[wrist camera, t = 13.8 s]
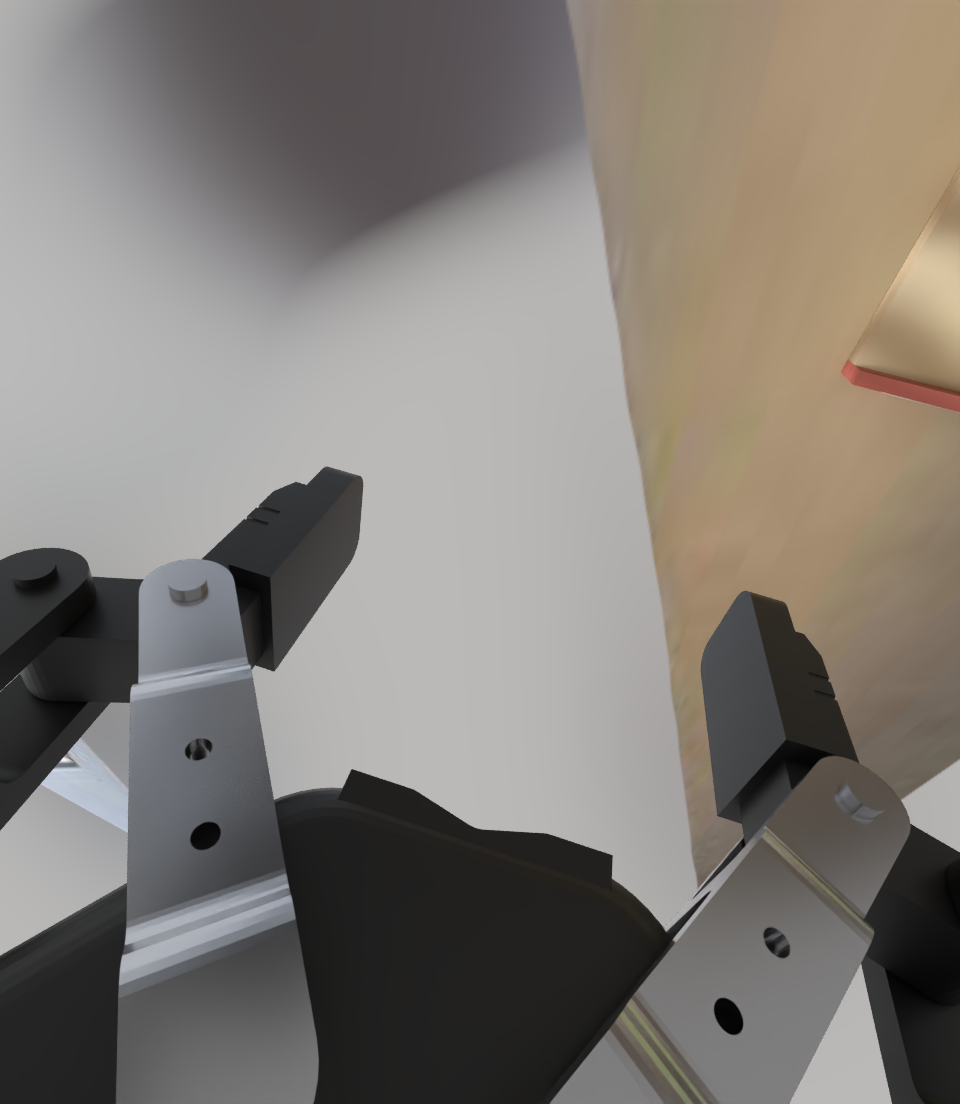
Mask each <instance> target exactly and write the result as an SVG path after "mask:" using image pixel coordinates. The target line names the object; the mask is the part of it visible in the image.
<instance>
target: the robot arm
mask: <svg viewBox="0 0 960 1104" xmlns="http://www.w3.org/2000/svg"><path fill="white" fill-rule="evenodd" d="M362 493H363V480H362V477H361V476H358V475H354V474H351V473H347V472H344V471H341V470H337V469H334V468H330V467H325V468H323V469H322V470H321V471H320V472H319V473H318V474H317V475H316V476H315V477H314V478H313V479H312V480H311V481H310V482H309V483H308V484H307V485H305V484H301V483H297V482H295V483H292V484H290V485H287V486H285V487H283V488H280V489H278V490H276V491H274V492H272V493H271V494H270V495H269V496H268V497H267V498H266V499H265V500H264V501H263V502H262V503H261V504H260V505H259V508H255V509H254V510H253V511H252V512H251V513H250V514H249V515H248V516H247V519H246V520H245V519H244V520H243V521H242V522H241V523H240V524H238V526H236V527H235V528H234V529H233V530H232V531H231V532H230V533H229V534H228V535H227V536H226V537H225V538H224V539H223V540H222V541H221V542H219V543H218V544H217V545H216V546H215V547H214V548H213V549H212V550H211V551H210V552H209V553H208V554H207V555H206V556H204V557H203V558H202V559H186V560H179V561H175V562H171V563H168V564H166V565H163V566H161V567H159V568H157V569H155V570H154V571H153V572H151V573H150V574H149V575H148V576H147V577H146V578H145V579H140V580H139V579H122V578H105V577H92V576H91V572H90V569H89V566H88V563H87V561H86V560H85V559H84V558H83V557H82V556H81V555H79V554H78V553H76V552H73V551H70V550H66V549H60V548H40V549H33V550H27V551H23V552H20V553H16V554H14V555H11V556H8V557H6V558H4V559H2V560H0V691H1V690H2V689H3V688H4V687H5V686H6V685H7V684H8V683H9V682H10V681H12V680H13V679H14V678H15V677H16V676H17V675H18V674H19V673H20V674H19V675H18V676H17V677H16V678H15V679H14V680H13V681H12V682H11V683H9V684H8V685H7V686H6V687H5V688H4V689H3V690H2V691H1V692H0V830H1V829H2V828H3V827H4V826H5V824H6V823H7V822H8V821H9V820H10V819H11V817H12V816H13V815H14V814H15V813H16V812H17V810H18V809H19V808H20V807H21V806H22V805H23V803H24V802H25V801H26V800H27V799H28V798H29V796H30V795H31V794H32V793H33V792H34V791H35V790H36V788H37V787H38V786H39V785H40V784H41V783H42V781H43V780H44V779H45V778H46V777H47V776H48V774H49V773H50V772H51V771H52V770H53V769H54V767H55V766H56V765H57V764H58V763H59V762H60V761H61V759H62V758H63V757H64V756H65V755H66V754H67V752H68V751H69V750H70V749H71V748H72V747H73V745H74V744H75V743H76V742H77V741H78V740H79V738H80V737H81V736H82V735H83V734H84V733H85V731H86V730H87V729H88V728H89V727H90V726H91V724H92V723H93V722H94V721H95V720H96V718H97V717H98V716H99V715H100V714H101V713H102V712H103V710H104V709H105V708H106V707H107V706H108V705H109V704H110V702H121V703H130V736H129V737H130V741H129V799H128V861H127V883H126V884H124V885H123V886H121V887H119V888H117V889H116V890H114V891H112V892H110V893H109V894H107V895H105V896H103V897H102V898H100V899H98V900H96V901H95V902H93V903H91V904H89V905H88V906H86V907H84V908H82V909H81V910H79V911H77V912H76V913H74V914H72V915H70V916H69V917H67V918H65V919H63V920H62V921H60V922H58V923H56V924H55V925H53V926H51V927H49V928H48V929H46V930H44V931H42V932H41V933H39V934H37V935H35V936H34V937H32V938H30V939H28V940H27V941H25V942H23V943H22V944H20V945H18V946H16V947H15V948H13V949H11V950H9V951H8V952H6V953H4V954H3V955H1V956H0V1104H789V1103H790V1101H791V1099H792V1097H793V1095H794V1093H795V1091H796V1089H797V1087H798V1085H799V1083H800V1081H801V1080H802V1078H803V1075H804V1073H805V1072H806V1070H807V1068H808V1066H809V1064H810V1062H811V1060H812V1058H813V1056H814V1054H815V1052H816V1050H817V1048H818V1046H819V1044H820V1042H821V1040H822V1038H823V1036H824V1034H825V1032H826V1030H827V1028H828V1027H829V1025H830V1022H831V1021H832V1019H833V1017H834V1015H835V1013H836V1011H837V1009H838V1007H839V1005H840V1003H841V1001H842V999H843V997H844V995H845V993H846V991H847V989H848V987H849V985H850V984H851V981H852V980H853V978H854V976H855V974H856V972H857V970H858V968H859V966H860V964H862V969H863V973H864V978H865V982H866V987H867V992H868V996H869V1001H870V1005H871V1010H872V1014H873V1019H874V1023H875V1028H876V1033H877V1037H878V1041H879V1046H880V1051H881V1055H882V1059H883V1064H884V1069H885V1073H886V1078H887V1082H888V1087H889V1091H890V1095H891V1101H892V1104H960V852H958V851H956V850H954V849H953V848H951V847H949V846H947V845H946V844H944V843H942V842H941V841H939V840H937V839H935V838H934V837H932V836H930V835H928V834H927V833H925V832H923V831H922V830H920V829H918V828H916V827H915V826H913V825H912V824H910V820H909V816H908V814H907V811H906V809H905V807H904V805H903V803H902V801H901V800H900V798H899V797H898V796H897V794H896V793H895V792H894V791H893V789H892V788H891V787H890V786H889V785H888V784H887V783H886V782H885V781H884V780H883V779H882V778H880V777H879V776H878V775H877V774H875V773H874V772H873V771H871V770H870V769H868V768H867V767H865V766H863V765H862V764H860V763H859V761H858V758H857V755H856V753H855V750H854V747H853V744H852V741H851V738H850V736H849V733H848V730H847V727H846V724H845V722H844V719H843V716H842V713H841V710H840V707H839V705H838V702H837V701H836V700H834V698H835V693H834V691H833V688H832V685H831V682H828V679H829V676H828V674H827V671H826V668H825V665H824V662H823V660H822V657H821V655H820V654H819V653H818V651H817V650H816V649H815V648H814V646H813V645H812V644H811V642H810V641H809V640H808V639H807V637H806V636H805V635H804V634H802V633H799V632H795V630H794V627H793V623H792V620H791V617H790V614H789V611H788V608H787V605H786V604H785V603H784V602H782V601H779V600H775V599H772V598H769V597H765V596H762V595H759V594H755V593H752V592H748V591H743V592H741V593H740V594H739V595H738V596H737V598H736V599H735V601H734V602H733V604H732V605H731V607H730V608H729V610H728V612H727V613H726V615H725V616H724V618H723V619H722V621H721V623H720V624H719V626H718V627H717V629H716V630H715V632H714V634H713V635H712V637H711V638H710V640H709V641H708V643H707V645H706V647H705V650H704V653H703V657H702V662H701V678H702V686H703V695H704V704H705V712H706V721H707V730H708V738H709V747H710V756H711V765H712V773H713V782H714V791H715V799H716V808H717V816H719V817H722V818H725V819H729V820H732V821H735V822H738V823H741V824H742V827H743V834H744V836H743V837H742V838H741V839H740V840H739V841H738V842H737V843H736V844H735V846H734V847H733V848H732V849H731V850H730V851H729V853H728V854H727V855H726V856H725V857H724V859H723V860H722V861H721V862H720V863H719V865H718V866H717V867H716V868H715V869H714V870H713V872H712V873H711V874H710V875H709V876H708V878H707V879H706V880H705V881H704V882H703V884H702V885H701V886H700V887H699V888H698V889H697V891H696V892H695V893H694V894H693V895H692V897H691V898H690V899H689V900H688V902H687V903H686V904H685V905H684V906H683V907H682V908H681V909H680V911H679V912H678V913H677V914H676V915H675V916H674V917H673V918H672V919H671V921H670V922H669V923H668V924H667V925H666V926H665V927H664V928H663V926H662V925H661V924H660V923H659V921H658V920H657V919H656V918H655V917H654V916H653V914H652V913H651V912H650V911H649V910H648V909H647V908H646V907H645V906H644V905H643V904H642V903H641V902H640V901H639V900H638V899H637V898H636V897H635V896H634V895H633V894H632V893H630V892H629V891H628V890H627V889H625V888H624V887H623V886H622V885H620V884H619V883H617V882H616V881H614V880H613V879H612V857H613V856H612V855H610V854H607V853H604V852H601V851H597V850H595V849H591V848H589V847H585V846H583V845H580V844H577V843H574V842H571V841H568V840H565V839H562V838H559V837H556V836H553V835H549V834H544V833H528V832H511V831H495V830H481V829H477V828H474V827H472V826H470V825H468V824H467V823H465V822H464V821H462V820H461V819H459V818H457V817H456V816H454V815H453V814H451V813H450V812H448V811H446V810H445V809H443V808H442V807H440V806H439V805H437V804H436V803H434V802H432V801H431V800H429V799H428V798H426V797H425V796H423V795H421V794H420V793H418V792H417V791H415V790H413V789H410V788H407V787H404V786H401V785H398V784H395V783H392V782H389V781H386V780H383V779H380V778H377V777H374V776H371V775H368V774H365V773H362V772H359V771H356V770H353V769H352V770H351V772H350V774H349V776H348V778H347V780H346V783H345V785H344V787H343V788H320V789H311V790H306V791H300V792H297V793H293V794H290V795H287V796H283V797H280V798H278V799H275V800H274V799H273V792H272V787H271V781H270V775H269V769H268V763H267V757H266V752H265V746H264V740H263V734H262V729H261V723H260V717H259V711H258V705H257V699H256V693H255V687H254V682H253V677H252V671H251V670H252V669H253V667H254V666H255V665H256V666H259V667H262V668H266V669H268V670H271V671H275V670H276V668H277V667H278V666H279V664H280V663H281V661H282V660H283V659H284V657H285V656H286V654H287V653H288V651H289V650H290V648H291V647H292V646H293V644H294V643H295V641H296V640H297V638H298V637H299V635H300V634H301V633H302V631H303V630H304V628H305V627H306V625H307V624H308V623H309V621H310V620H311V618H312V617H313V615H314V614H315V613H316V611H317V610H318V608H319V606H320V605H321V604H322V602H323V601H324V600H325V598H326V597H327V595H328V594H329V593H330V591H331V590H332V588H333V587H334V585H335V584H336V582H337V581H338V580H339V578H340V577H341V575H342V574H343V572H344V571H345V569H346V568H347V567H348V565H349V564H350V562H351V560H352V558H353V556H354V554H355V551H356V548H357V545H358V540H359V532H360V520H361V507H362Z"/></svg>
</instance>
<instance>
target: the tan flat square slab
mask: <svg viewBox="0 0 960 1104" xmlns="http://www.w3.org/2000/svg"><path fill="white" fill-rule="evenodd" d="M841 373H842V374H843V375H844V376H845V377H846V378H847V379H848V380H849V381H850V382H851V383H852V384H853V385H857V386H861V387H864V388H868V389H872V390H876V391H880V392H882V393H884V394H888V395H892V396H896V397H900V398H903V399H907V400H911V401H915V402H919V403H923V404H926V405H930V406H934V407H938V408H942V409H946V410H949V411H953V412H957V413H960V167H959V169H958V171H957V173H956V174H955V176H954V178H953V179H952V181H951V183H950V185H949V186H948V188H947V190H946V192H945V193H944V195H943V197H942V198H941V200H940V202H939V204H938V205H937V207H936V209H935V211H934V212H933V214H932V216H931V218H930V219H929V221H928V223H927V224H926V226H925V228H924V230H923V231H922V233H921V235H920V237H919V238H918V240H917V242H916V244H915V245H914V247H913V249H912V250H911V252H910V254H909V256H908V257H907V259H906V261H905V263H904V264H903V266H902V268H901V269H900V271H899V273H898V275H897V276H896V278H895V280H894V282H893V283H892V285H891V287H890V289H889V290H888V292H887V294H886V295H885V297H884V299H883V301H882V302H881V304H880V306H879V308H878V309H877V311H876V313H875V314H874V316H873V318H872V320H871V321H870V323H869V325H868V327H867V328H866V330H865V332H864V334H863V335H862V337H861V339H860V340H859V342H858V344H857V346H856V347H855V349H854V351H853V353H852V354H851V356H850V358H849V360H848V361H847V363H846V365H845V366H844V368H843V370H842V372H841Z"/></svg>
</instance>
